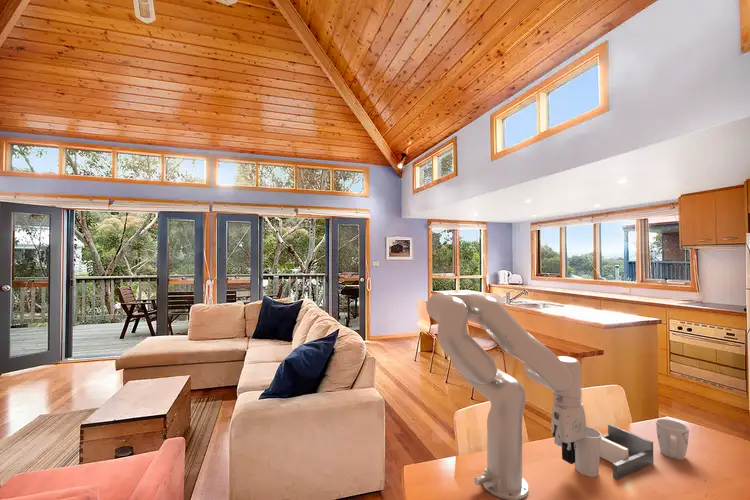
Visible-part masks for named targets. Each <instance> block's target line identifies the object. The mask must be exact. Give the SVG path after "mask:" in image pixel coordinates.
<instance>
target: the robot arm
mask: <svg viewBox="0 0 750 500" xmlns="http://www.w3.org/2000/svg"><path fill="white" fill-rule="evenodd" d="M425 310H426V312H427V314H428V316H429V318H431V319H432V320H434V321H435V322H437V323H438V324H437V340H438V343H439V345H440V348H441V349H442V351H443V352H444V353H445V354H446V356H447V357H449V358H450V360H451V364H452V367H453V368H454V370H455V371H456V372H457V373H458V374H459V375H460V376H461V377H462V378H463V379H464V380H465V381H466V382H468V384H469V385H470V386H471V387H472V388H473V389H475V391H476V392H477V393H479V394H480V395H481V396H482V397H484V398H485V399H487V400H488V401H489V402H490V409H489V410H488V414H487V419H486V429H487V430H486V431H487V432H486V442H487V443H486V444H487V445H486V448H487V450H486V452H487V453H486V455H487V457H486V462H487V463H486V466H487V467H486V468H484V472H482V475H480V476H476V477H474V479H473V480H474V484H475V485H476V486H483V488H484V490H486V491H487V492H488V493H490V494H491V495H493V496H495V497H497V498H500V499H503V500H522V499H524V498H526V497H527V496H528V494H529V485H528V483H527V481H526V479H524V478H523V416H524V409H525V405H526V401H527V399H526V397H527V396H526V390H525V388H524V386H523V385H522V384H521V382H520V381H519V380H518V379H517V378H515V377H514V376H512V375H510V374H508V373H507V372H504V370H501V369H499V368H498V367H497V363H496V362H495V360H494V358H493V356H491V355H490V354H489V353H488V352H487V351H486V350H485V349H484V348H483V347H482V346H480V345H479V343H477V341H476V340H475V339H474V338H473V337H472V335H471V334H470V333H469V332H468V329H467V328H468V327H467V326H468V325H467V324H468V321H471V322H474V323H477V324H478V325H479V326H480V327H481V328H482V329H483V330H484V331H485V332H486V333H487V334H488V335H489V336H490V337H491V338H492V339H493V340H494V341H495V342H496V344H498V345H499V347H501V349H502V350H504V351H505V352H506V353H508V354H509V355H510V356H511V357H514V358H515V359H517V360H518V361H520V362H522V363H523V364H524V365H523V370H524V374H525V375H526V376H527V377H528V379H530V380H532V381H534V382H535V383H537V384H539V385H541V386H543V387H545V388H546V389H548V390H551V392H552V396H553V397H552V401H553V404H552V410H551V420H550V421H551V423H550V427H551V435H552V437H553V438H554V441H553V442H554V444H555V445H556V446H558V447H559V446H560V447H561V459H562V460H563V461H565V462H566V463H568V464H569V465H572V464H575V449H576V447H577V441H578V440H579V439H582V438H584V437H585V436H586V426H587V423H586V421H587V420H586V414H585V408H584V405H583V401H582V371H581V368H582V367H581V363H580V361H579V359H577V358H574V357H572V356H568V355H567V356H565V355H559V356H557V355H556V354H555V353H554V352H553V351H552V350H550V348H548V347H547V345H545V344H543V343H542V342H541V341H539V340H538V339H537V337H534V336H533V335H532V334H531V333H530V332H529V331H527V330H526V329H525V328H524V327H523V326H522V325H521V324H520V323H519V322H518V321H517V320H516V318H514V317H513V315H512V314H511V313H510V312H509V311H508V310H507V309H506V308H505V307H504V305H502V303H500V302H499V301H498V300H497V299H496V298H494V297H492V296H489V295H483V294H480V293H479V294H478V293H447V292H437V293H434V294H433V295H431V296H430V297H429V298H428V300H427V302H426V309H425Z"/></svg>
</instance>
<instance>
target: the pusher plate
mask: <svg viewBox="0 0 750 500" xmlns="http://www.w3.org/2000/svg"><path fill="white" fill-rule="evenodd" d="M599 458H602V459H604V460H606V461H608V462H610V463H612V464H613V463H616V462H618V461H621V460H623V459H626V458H629V454H628V449H627V448H625V447H623V446H621V445H619V444H616V443H614V442H612V441H610V440H608V439H606V438H603V437H601V446H600V457H599Z"/></svg>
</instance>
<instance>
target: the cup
mask: <svg viewBox="0 0 750 500" xmlns="http://www.w3.org/2000/svg"><path fill="white" fill-rule="evenodd" d="M602 435H603V434H602V433H601V432H600V431H599V430H598V429H595V428H594V427H591V426H587V425H586V436H585V437H584V438H582V439H579V440H578V441H577V447H576V449H575V463H574V469H575V470H577V471H576V472H578V473H579V472H580V473H579V474H580V475H583V476H585V475H586V477H590V478H595V477H598V476H599V475H600V474H599V473H600V471H599V468H600V458H601V457H600V446H601V436H602Z"/></svg>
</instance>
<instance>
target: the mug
mask: <svg viewBox="0 0 750 500" xmlns="http://www.w3.org/2000/svg"><path fill="white" fill-rule="evenodd" d="M655 425H656V426H655V428H656V436H657V442H658V446H659V451H660V453H661V454H662V455H664V456H666V457H668V458H670V459H674V460H684V459H686V456H687V449H688V444H689V436H690V435H689V434H690V429H689V427H688V426H687V425H685V424H684V423H681V422H680V421H679V422H678V421H676V420H671V419H667V418H666V419H665V418H658V419H656V420H655Z"/></svg>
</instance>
